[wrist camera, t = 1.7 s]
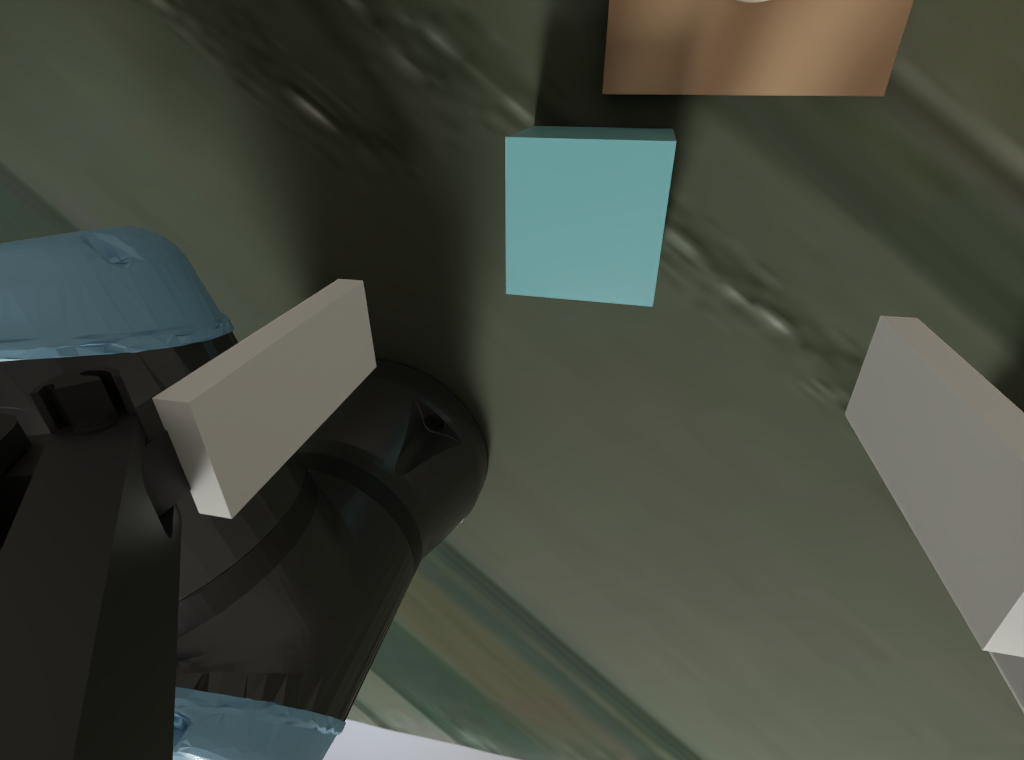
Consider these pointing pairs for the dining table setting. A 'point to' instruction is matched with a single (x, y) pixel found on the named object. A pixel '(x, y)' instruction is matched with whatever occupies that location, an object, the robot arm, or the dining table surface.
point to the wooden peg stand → (752, 46)
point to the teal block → (586, 211)
